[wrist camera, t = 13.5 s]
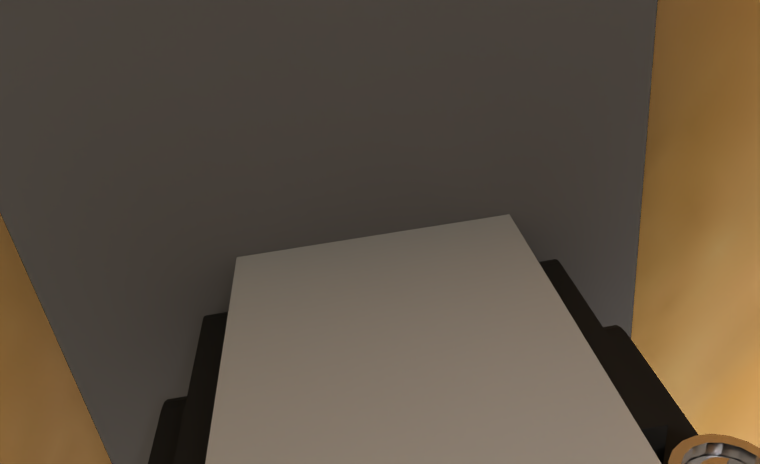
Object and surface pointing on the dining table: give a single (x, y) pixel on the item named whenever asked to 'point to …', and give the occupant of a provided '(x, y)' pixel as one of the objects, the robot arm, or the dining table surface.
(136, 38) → the mat
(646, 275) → the dining table surface
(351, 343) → the grey block
